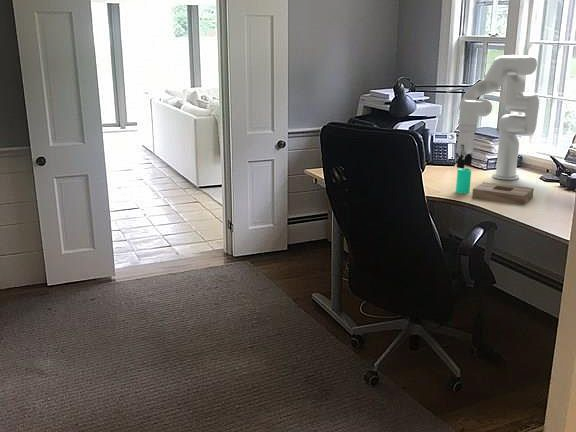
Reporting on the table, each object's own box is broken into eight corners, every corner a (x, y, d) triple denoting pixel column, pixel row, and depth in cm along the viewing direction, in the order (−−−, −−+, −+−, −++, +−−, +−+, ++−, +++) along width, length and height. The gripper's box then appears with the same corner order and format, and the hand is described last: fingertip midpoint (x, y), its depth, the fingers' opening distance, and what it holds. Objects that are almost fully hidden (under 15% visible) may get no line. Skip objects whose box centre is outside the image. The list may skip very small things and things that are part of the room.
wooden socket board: (483, 190, 282) (484, 181, 281) (532, 197, 270) (533, 188, 269) (472, 197, 270) (472, 188, 269) (523, 204, 258) (524, 195, 257)
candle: (460, 193, 276) (462, 167, 273) (453, 190, 282) (455, 165, 278) (472, 192, 278) (474, 167, 274) (464, 189, 283) (467, 164, 280)
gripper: (465, 126, 280) (462, 162, 285) (452, 129, 267) (449, 168, 271) (482, 127, 276) (478, 164, 281) (469, 131, 263) (465, 170, 267)
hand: (464, 166), depth 276 cm, fingers open, 9 cm apart
